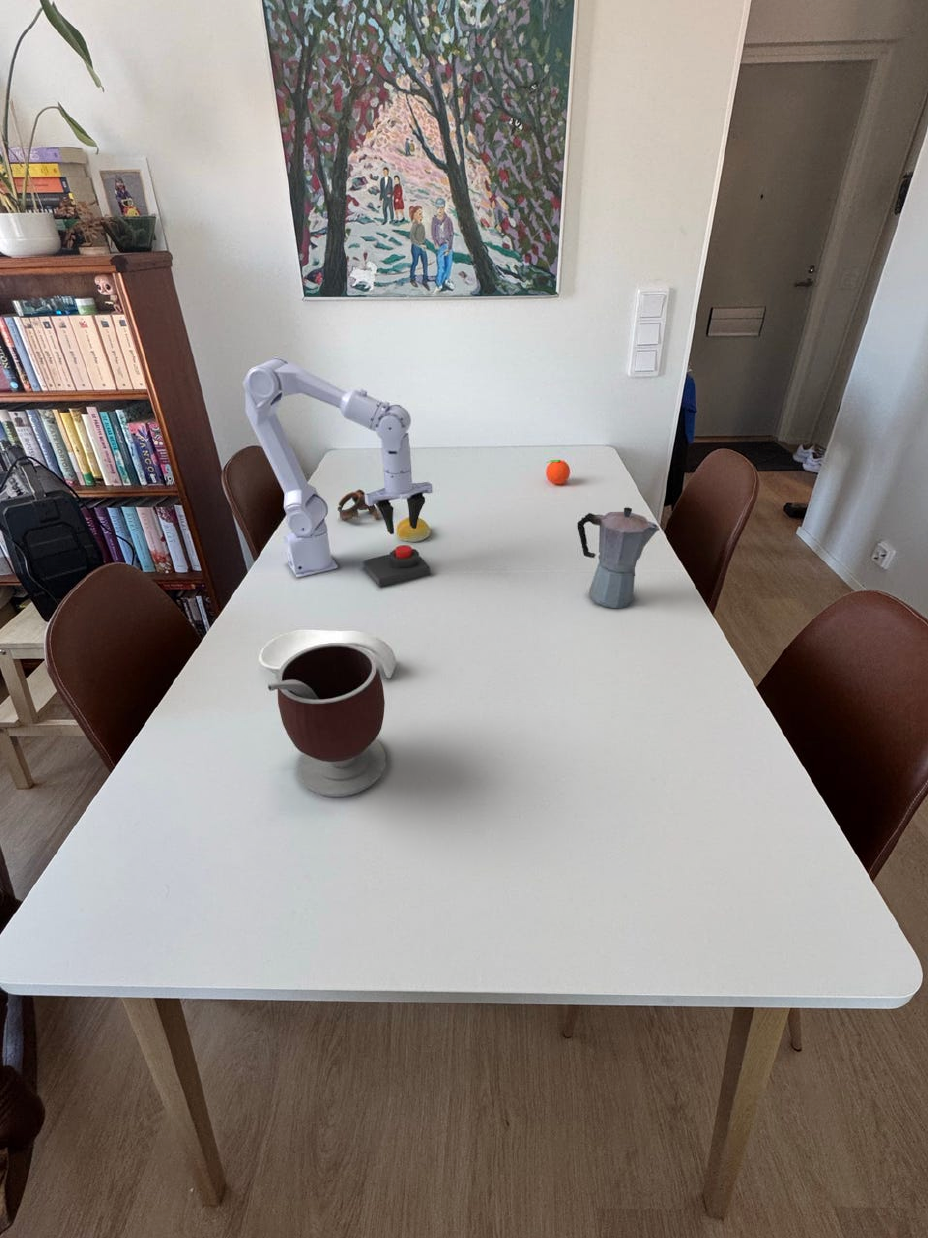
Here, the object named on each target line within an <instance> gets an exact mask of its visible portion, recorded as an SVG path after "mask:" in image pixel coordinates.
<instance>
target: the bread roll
mask: <svg viewBox="0 0 928 1238" xmlns="http://www.w3.org/2000/svg"><path fill="white" fill-rule="evenodd" d="M431 530H432V529H431V527H430V526H429V524H428V523H427V522H426V521H425V520H424V519H422V518H420V517H418V522H417V527H416V529H413V528H412V527H411V526H410V523H409V517H406V518H404V519H402V520H401V521H400V522H399V523H398V524H397V526H396V530H395V531H396V533H397V536H398V538H399V539H400V540H401V541H402V542H403V541H404V542H409V543H416V542H422V541H424V540H426V539H427V538H429V537H430V535H431Z"/></svg>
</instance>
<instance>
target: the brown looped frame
mask: <svg viewBox="0 0 928 1238" xmlns="http://www.w3.org/2000/svg"><path fill="white" fill-rule="evenodd" d="M365 494H366V493H365V491H363V489H357V490H356V491H352V492H349V493H347V494H346V495H344V496H343V497H342V498H341V499H340V501H339V502H338V506H337V511H338V512H339V518H340V519H341V520H342V521H344V520H346V521H347V520H350V519H352V518H360V516H359V511H367V510H368V514H373V516H374V517H375V520H376V521H378V520H379V512H378V508H377V506H376V504H373V505H372V506H368V505H367V504H366V503H365ZM350 500H352V501H353V503H354V504H353V505H351V506H350V507H349V508H347V509H343V508H344V506H345V505H346V504H347V503H348V502H349V501H350ZM358 510H359V511H358Z"/></svg>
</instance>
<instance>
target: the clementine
mask: <svg viewBox="0 0 928 1238" xmlns="http://www.w3.org/2000/svg"><path fill="white" fill-rule="evenodd" d="M546 464H548V465H547V467H546V470H545V475H546V478H547V479H548V481H549V482H550V483H552V484H553V485H562V484H564V483H566V482H567V480H568V479H569V477H570V475H571V467H570V465H569V464H568V462H566V461H564V460H562V459H552V460H549V461H547V462H546Z"/></svg>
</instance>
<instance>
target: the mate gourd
mask: <svg viewBox="0 0 928 1238" xmlns="http://www.w3.org/2000/svg"><path fill="white" fill-rule="evenodd" d="M381 677H382V676H381V673H380V671H379V668H378V666H377V661H376V659H375V657H374V656H373V654H372V653H370V651H369V650H366V648H363V647H359V646H356V645H352V644H345V643H328V644H321V645H317V646H313V647H310V648H307V649H304V650H302V651H300V652H298V653H296V654H295V655H293V656H292V657H290V658H289V659H288V660H287V661H286V662H285V663H284V664H283V665H282V667H281V668H280V670H279V673H278V674H277V678H276V679H277V680H276V682H274V683H273V682H272V683H269V684H267V689H268V691H270V692H274V691H275V690H277V705H278V709H279V714H280V718H281V722H282V725H283V727H284V730H285V732H286V735H287V736H288V737H289V739H290V740H291V742H292V745H294V747H295V749H297V750H298V751H299V752H300V753H302V754H303V755H302V758H301V760H300V762H299V775H300V777H301V781H302V782H303V784H304V786H305V787H306V788H307V789H308V790H309V791H311V792H313V793H314V794H317V795H320V796H323V797H328V798H342V797H350V796H352V795H356V794H358V793H361V792H363V791H365V790H367V789H368V788H369V787H371V786H372V785H373V784H375V783H376V782H377V781H378V780H379V778H380V777H381V775H382V774H383V772H384V770H385V767H386V761H387V760H386V754H385V750H384V747H383V746H382V744H381V743H380V742H379V741H378V740H377V737H378V736H379V734H380V733H381V730H382V726H383V722H384V717H385V716H384V715H385V706H386V704H385V703H386V702H385V701H386V700H385V693H384V685H383V680H382V678H381Z"/></svg>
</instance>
